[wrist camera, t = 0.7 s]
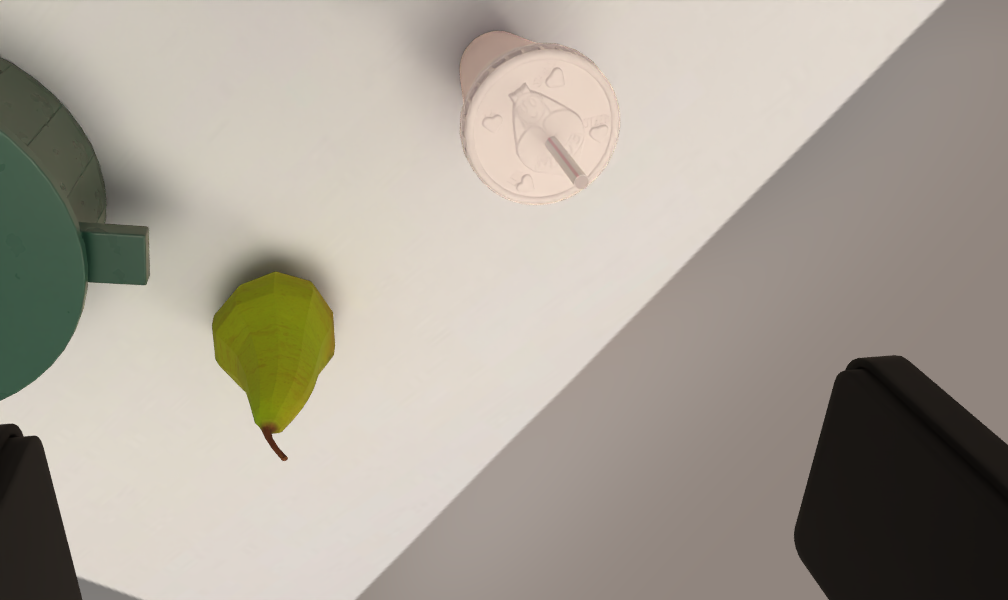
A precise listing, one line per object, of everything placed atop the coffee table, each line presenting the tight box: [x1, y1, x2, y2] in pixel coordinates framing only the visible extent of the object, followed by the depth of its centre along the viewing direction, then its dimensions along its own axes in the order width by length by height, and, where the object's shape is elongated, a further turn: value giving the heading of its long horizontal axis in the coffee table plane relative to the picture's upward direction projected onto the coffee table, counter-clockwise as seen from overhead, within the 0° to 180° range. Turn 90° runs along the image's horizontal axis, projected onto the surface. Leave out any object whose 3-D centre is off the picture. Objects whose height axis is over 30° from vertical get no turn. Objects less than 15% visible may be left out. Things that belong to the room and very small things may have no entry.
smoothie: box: [459, 31, 620, 205], centre depth 35 cm, size 6×6×14 cm
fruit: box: [212, 271, 335, 461], centre depth 40 cm, size 6×6×12 cm
